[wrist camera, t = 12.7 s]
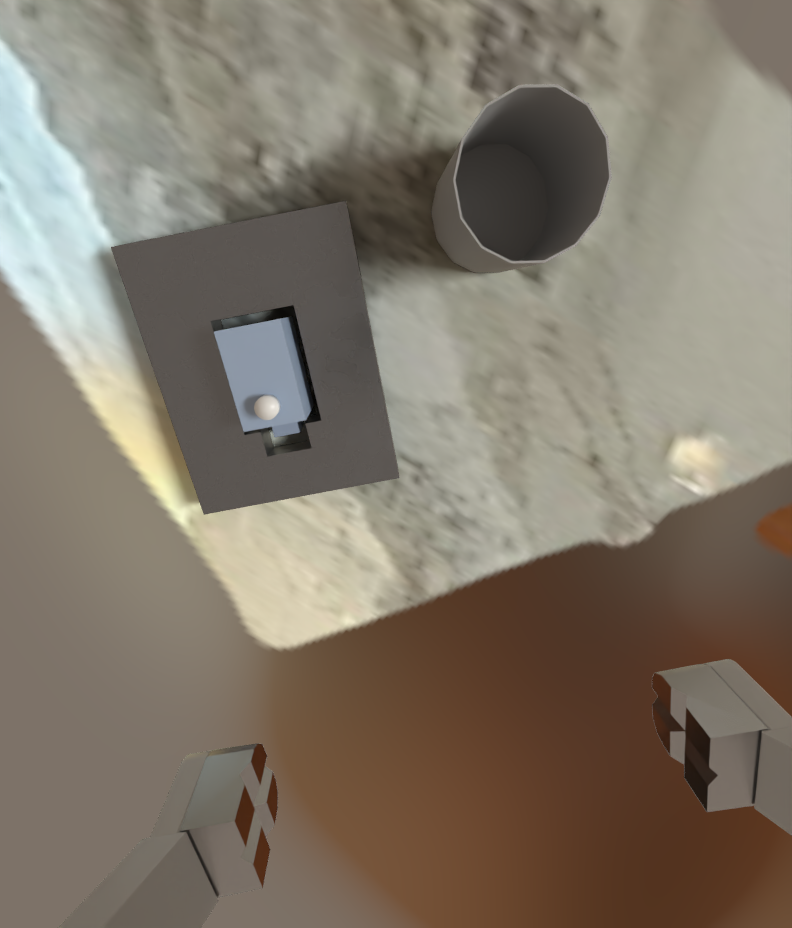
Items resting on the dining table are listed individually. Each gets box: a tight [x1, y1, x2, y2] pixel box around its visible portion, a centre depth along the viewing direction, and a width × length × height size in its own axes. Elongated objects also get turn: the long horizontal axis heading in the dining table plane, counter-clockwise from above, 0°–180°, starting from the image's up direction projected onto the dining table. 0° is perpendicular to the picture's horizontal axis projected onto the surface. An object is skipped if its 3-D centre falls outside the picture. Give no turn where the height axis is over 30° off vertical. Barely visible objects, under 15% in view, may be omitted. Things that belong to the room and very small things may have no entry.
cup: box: [431, 84, 612, 273], centre depth 30 cm, size 8×8×10 cm
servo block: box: [214, 316, 314, 437], centre depth 35 cm, size 4×8×6 cm, turn 10°
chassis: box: [111, 201, 399, 514], centre depth 36 cm, size 16×20×2 cm
